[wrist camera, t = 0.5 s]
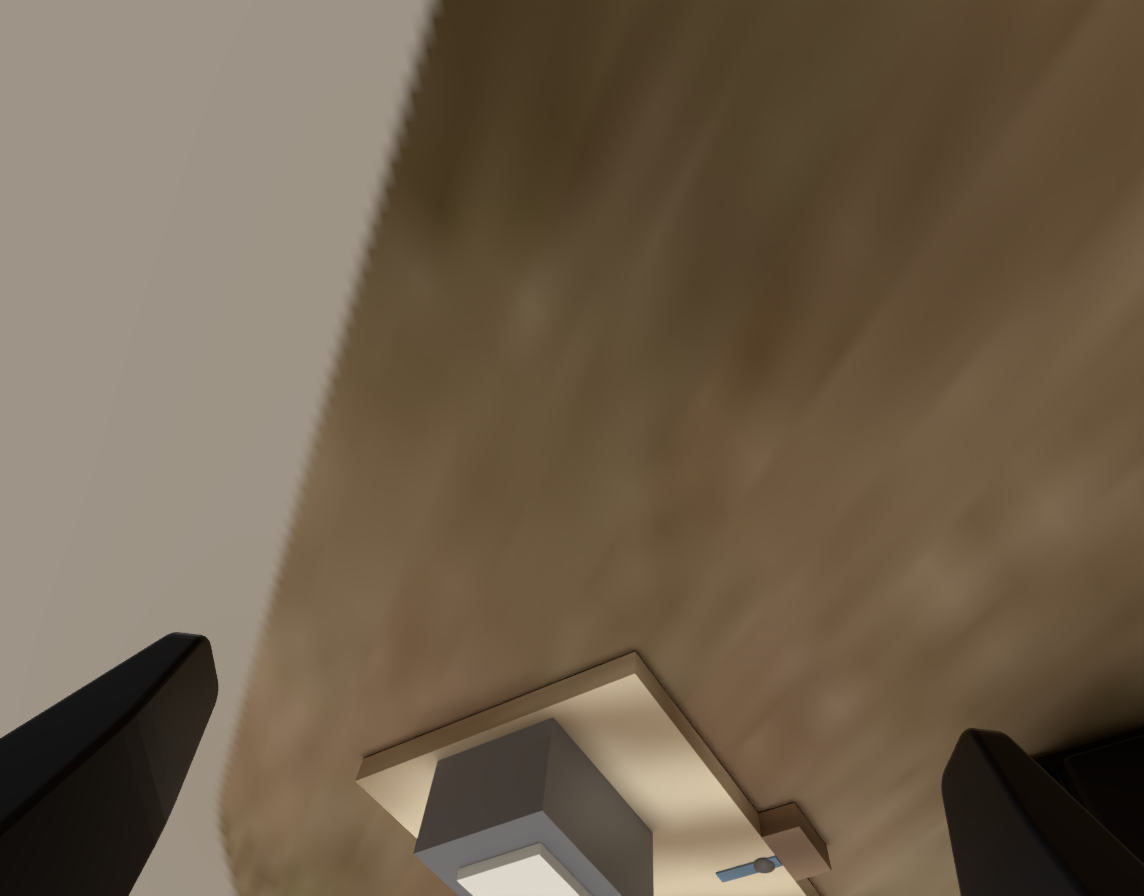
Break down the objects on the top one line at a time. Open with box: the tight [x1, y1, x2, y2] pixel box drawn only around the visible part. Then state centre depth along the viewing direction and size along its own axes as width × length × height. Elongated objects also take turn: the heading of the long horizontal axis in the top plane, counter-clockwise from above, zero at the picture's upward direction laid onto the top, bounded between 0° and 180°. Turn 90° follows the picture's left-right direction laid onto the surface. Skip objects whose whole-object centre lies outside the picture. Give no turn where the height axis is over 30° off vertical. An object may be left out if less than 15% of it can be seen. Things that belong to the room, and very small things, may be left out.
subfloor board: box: [356, 652, 832, 896], centre depth 32 cm, size 16×15×1 cm
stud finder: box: [413, 717, 654, 896], centre depth 28 cm, size 7×5×4 cm
